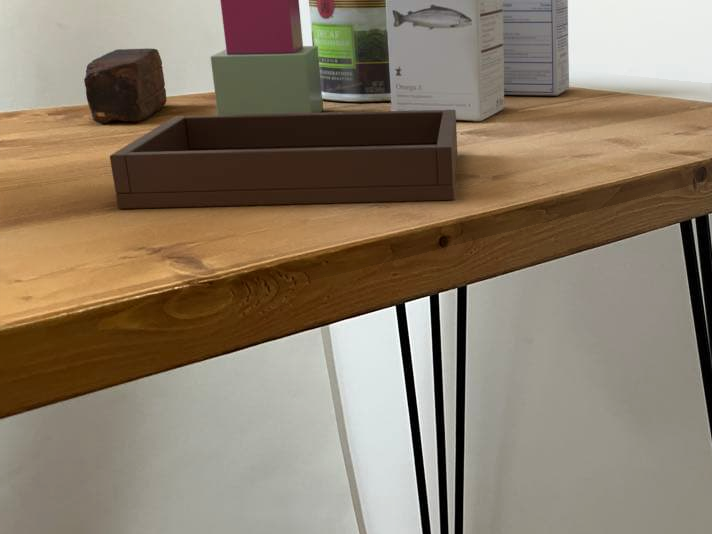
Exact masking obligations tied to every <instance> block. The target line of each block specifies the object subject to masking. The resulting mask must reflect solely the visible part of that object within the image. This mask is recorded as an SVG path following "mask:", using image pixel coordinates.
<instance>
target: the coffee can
mask: <svg viewBox="0 0 712 534" xmlns="http://www.w3.org/2000/svg"><path fill="white" fill-rule="evenodd" d="M308 6H309V17H310V18H309V19H310V30H311V43H312V46H317V47H318V57H319V68H320V79H321V91H322V101H329V102H340V103H386V102H388V103H389V102H391V87H390V69H389V49H388V31H387V15H386V0H308Z"/></svg>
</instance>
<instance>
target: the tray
mask: <svg viewBox="0 0 712 534" xmlns="http://www.w3.org/2000/svg"><path fill="white" fill-rule="evenodd" d="M457 132H458V131H457V120H456V111H455V110H419V111H392V110H384V111H382V110H381V111H380V110H379V111H339V112H338V111H337V112H320V113H290V114H247V115H218V114H214V115H213V114H210V115H208V114H207V115H206V114H205V115H204V114H203V115H175V116H174V117H172V118H170V119H168V120H167V121H165V122H163V123H161V124H160V125H158V126H157V127H155V128H153V129H152V130H150V131H148V132H147V133H145V134H143V135H141V136H140V137H138V138H137V139H135V140H134V141H133V140H132V142H130V143H128V144H127V145H125V146H124V147H122V148H120V149H118V150H116V151H115V152H114V153H111V154H110V155H109V162H110V167H111V173H112V180H113V186H114V190H115V198H116V204H117V208H118V210H119V209H120V210H121V209H122V210H124V209H162V208H168V209H169V208H194V207H195V208H201V207H203V208H205V207H235V206H237V207H238V206H240V207H242V206H272V205H273V206H275V205H311V204H347V203H352V204H353V203H384V202H385V203H386V202H387V203H388V202H423V201H453V200H455V189H456V188H455V187H456V175H457V163H458V135H457V134H458V133H457Z"/></svg>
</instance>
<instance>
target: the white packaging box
mask: <svg viewBox="0 0 712 534" xmlns="http://www.w3.org/2000/svg"><path fill="white" fill-rule="evenodd" d="M386 15H387V31H388V49H389V69H390V87H391V101H390V102H391V104H390V105H391V111H419V110H455V111H456V121H469V122H481V121H484V120H486V119H488V118H489V117H492V116H493V115H495V114H497V113H499V112H501V111H502V110H503V109H504V108H505V95H504V40H503V0H386Z"/></svg>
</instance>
